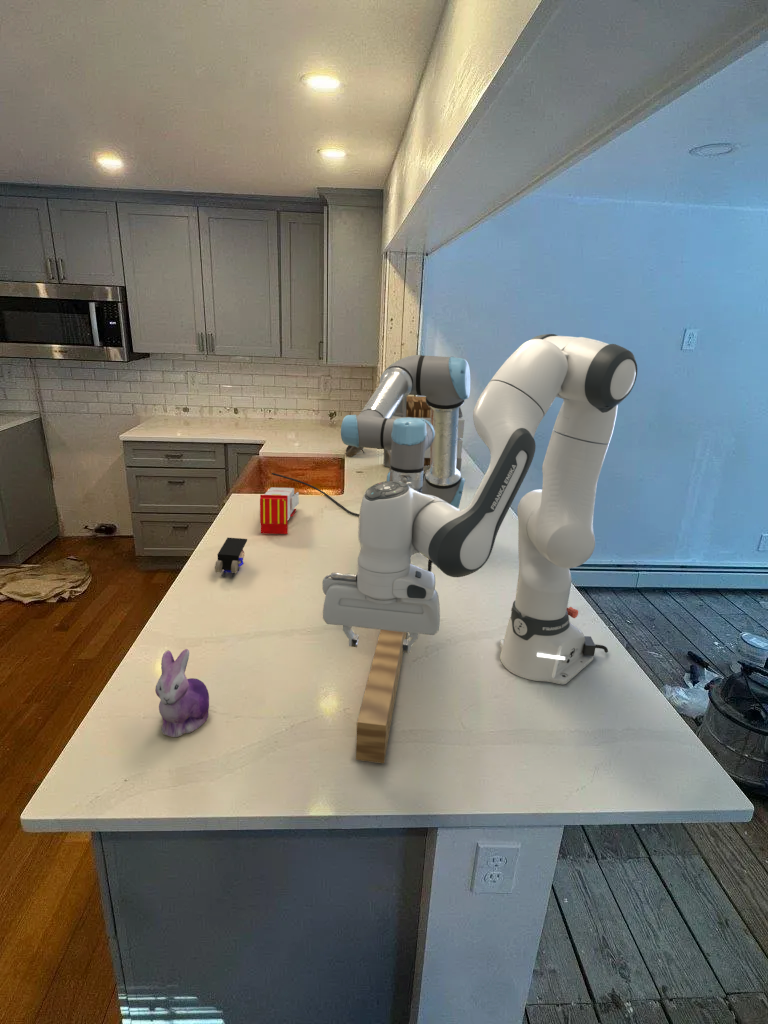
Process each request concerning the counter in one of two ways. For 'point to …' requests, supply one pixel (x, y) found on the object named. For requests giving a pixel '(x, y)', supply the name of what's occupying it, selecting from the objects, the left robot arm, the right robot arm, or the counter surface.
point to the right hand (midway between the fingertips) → (379, 648)
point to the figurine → (180, 697)
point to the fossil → (353, 450)
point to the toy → (277, 510)
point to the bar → (379, 698)
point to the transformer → (420, 409)
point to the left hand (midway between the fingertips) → (400, 571)
